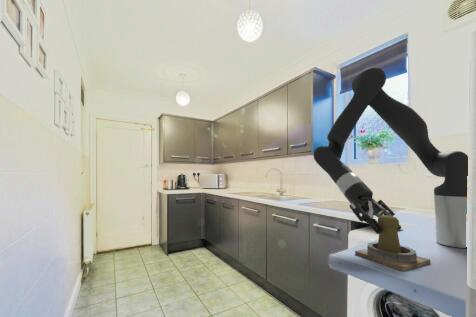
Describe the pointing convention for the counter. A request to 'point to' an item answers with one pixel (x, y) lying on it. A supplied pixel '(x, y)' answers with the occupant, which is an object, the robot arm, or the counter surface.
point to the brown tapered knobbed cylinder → (389, 234)
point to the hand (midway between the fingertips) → (390, 231)
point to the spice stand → (393, 257)
